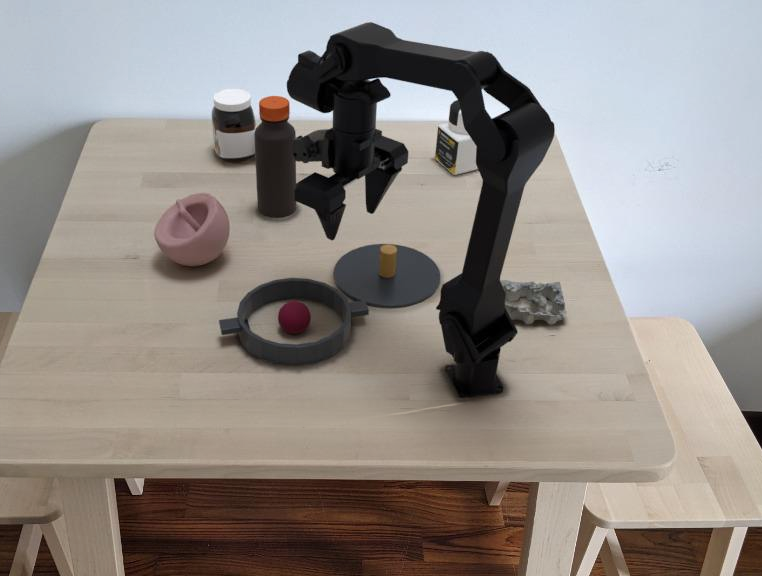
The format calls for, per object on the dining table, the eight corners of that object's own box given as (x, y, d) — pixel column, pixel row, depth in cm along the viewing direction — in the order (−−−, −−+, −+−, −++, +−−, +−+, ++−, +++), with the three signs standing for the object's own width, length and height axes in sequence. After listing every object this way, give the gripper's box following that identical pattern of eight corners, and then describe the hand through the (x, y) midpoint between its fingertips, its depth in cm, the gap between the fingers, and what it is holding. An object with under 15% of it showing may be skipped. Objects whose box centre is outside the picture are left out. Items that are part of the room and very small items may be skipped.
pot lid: (454, 303, 140) (458, 272, 136) (348, 317, 137) (349, 287, 133) (421, 243, 152) (423, 214, 148) (322, 256, 149) (323, 226, 145)
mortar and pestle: (150, 247, 151) (142, 186, 143) (219, 233, 154) (215, 173, 147) (168, 287, 143) (160, 224, 135) (241, 271, 146) (237, 209, 138)
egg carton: (490, 326, 135) (494, 304, 133) (488, 296, 141) (491, 274, 138) (564, 330, 134) (569, 308, 132) (558, 300, 140) (563, 278, 137)
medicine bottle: (434, 159, 173) (440, 99, 165) (465, 151, 176) (473, 91, 168) (453, 176, 169) (461, 115, 161) (486, 168, 171) (495, 107, 163)
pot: (381, 356, 130) (382, 335, 128) (230, 378, 127) (228, 357, 124) (352, 290, 142) (353, 269, 139) (213, 308, 139) (211, 287, 136)
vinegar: (302, 216, 158) (301, 107, 145) (265, 223, 156) (261, 114, 143) (288, 197, 163) (286, 90, 150) (252, 204, 161) (247, 97, 148)
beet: (314, 338, 133) (314, 311, 130) (281, 342, 132) (281, 316, 129) (307, 318, 136) (306, 292, 133) (275, 322, 136) (274, 296, 132)
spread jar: (210, 145, 178) (205, 88, 170) (266, 137, 180) (264, 80, 172) (224, 174, 169) (220, 115, 161) (283, 165, 172) (281, 107, 164)
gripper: (350, 84, 129) (347, 182, 140) (261, 130, 119) (265, 233, 129) (414, 106, 124) (406, 206, 134) (327, 157, 113) (326, 261, 124)
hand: (350, 225), depth 131 cm, fingers open, 9 cm apart
